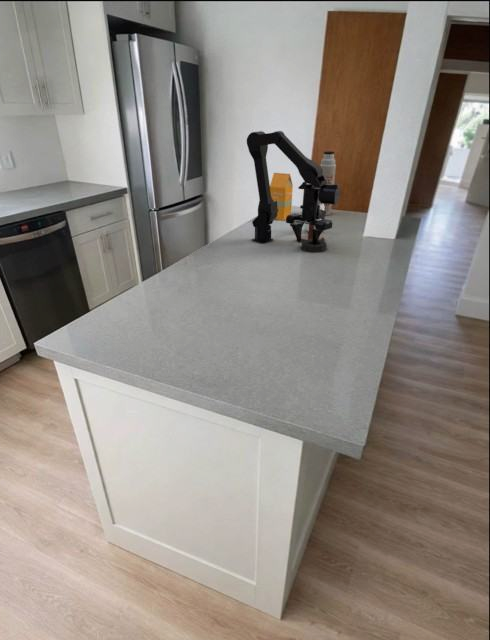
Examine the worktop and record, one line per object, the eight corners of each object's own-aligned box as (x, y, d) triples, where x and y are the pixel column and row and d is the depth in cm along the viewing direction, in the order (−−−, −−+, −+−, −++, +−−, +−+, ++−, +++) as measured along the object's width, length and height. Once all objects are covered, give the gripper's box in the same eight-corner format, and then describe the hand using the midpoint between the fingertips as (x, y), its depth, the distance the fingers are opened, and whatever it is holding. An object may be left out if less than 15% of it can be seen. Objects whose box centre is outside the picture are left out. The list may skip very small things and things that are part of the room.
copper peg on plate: (296, 240, 177) (298, 221, 173) (308, 236, 182) (310, 218, 177) (312, 244, 172) (314, 224, 168) (323, 240, 177) (326, 221, 173)
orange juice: (283, 220, 206) (286, 175, 195) (268, 218, 210) (269, 173, 199) (290, 217, 212) (293, 172, 200) (275, 215, 216) (277, 171, 204)
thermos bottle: (330, 215, 213) (338, 152, 197) (314, 215, 214) (320, 152, 198) (330, 212, 220) (337, 150, 204) (314, 211, 221) (320, 150, 205)
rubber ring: (296, 248, 168) (297, 243, 166) (311, 243, 173) (312, 238, 172) (315, 253, 162) (316, 247, 161) (330, 248, 167) (331, 242, 166)
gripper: (343, 202, 159) (337, 244, 168) (303, 196, 170) (300, 235, 179) (325, 207, 153) (321, 250, 162) (286, 200, 164) (283, 241, 173)
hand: (306, 244), depth 169 cm, fingers open, 7 cm apart
